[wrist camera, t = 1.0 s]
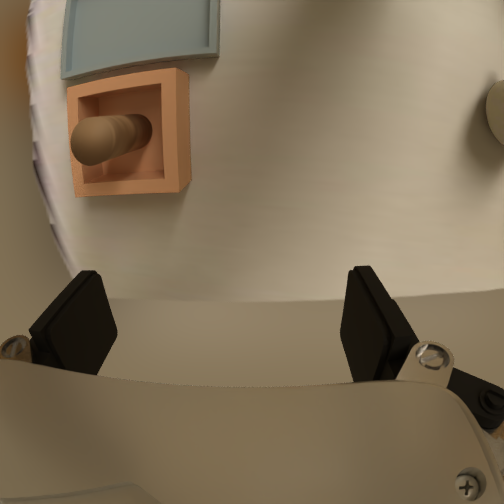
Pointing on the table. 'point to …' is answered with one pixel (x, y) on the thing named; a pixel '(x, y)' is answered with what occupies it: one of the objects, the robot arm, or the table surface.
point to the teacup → (496, 110)
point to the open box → (160, 145)
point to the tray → (136, 33)
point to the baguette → (109, 137)
